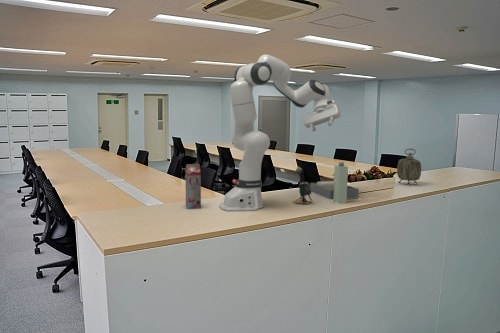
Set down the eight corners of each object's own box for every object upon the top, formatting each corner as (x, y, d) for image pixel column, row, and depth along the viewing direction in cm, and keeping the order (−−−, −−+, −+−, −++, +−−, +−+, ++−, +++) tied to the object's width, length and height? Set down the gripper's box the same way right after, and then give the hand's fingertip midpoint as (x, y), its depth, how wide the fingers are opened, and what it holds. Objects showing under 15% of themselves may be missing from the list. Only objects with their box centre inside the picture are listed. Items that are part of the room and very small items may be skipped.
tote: (330, 201, 215) (330, 190, 215) (310, 192, 238) (310, 183, 237) (358, 199, 221) (358, 188, 220) (336, 191, 244) (336, 181, 243)
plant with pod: (304, 206, 202) (305, 168, 200) (290, 202, 212) (291, 165, 209) (315, 204, 207) (317, 167, 204) (301, 200, 216) (302, 165, 213)
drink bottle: (338, 203, 209) (339, 163, 206) (333, 201, 213) (334, 162, 210) (346, 203, 210) (348, 162, 207) (341, 201, 215) (343, 161, 212)
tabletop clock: (418, 184, 272) (420, 148, 269) (420, 186, 264) (423, 149, 260) (396, 183, 276) (398, 147, 272) (398, 185, 267) (400, 149, 264)
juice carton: (200, 208, 195) (200, 164, 192) (187, 209, 193) (187, 165, 190) (198, 205, 201) (198, 163, 199) (185, 206, 200) (185, 163, 197)
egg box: (322, 194, 229) (322, 183, 229) (316, 191, 237) (316, 181, 236) (340, 192, 233) (340, 183, 232) (333, 190, 241) (333, 180, 240)
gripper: (302, 111, 217) (301, 130, 209) (336, 99, 206) (337, 118, 198) (307, 118, 221) (306, 137, 213) (341, 106, 210) (342, 125, 202)
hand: (321, 127), depth 206 cm, fingers open, 8 cm apart
